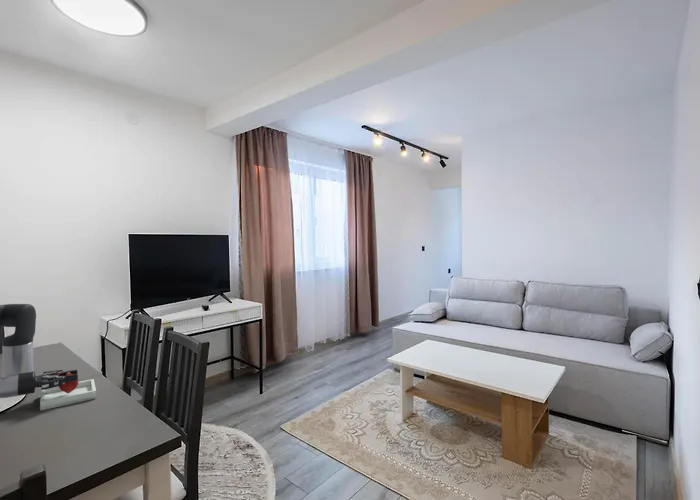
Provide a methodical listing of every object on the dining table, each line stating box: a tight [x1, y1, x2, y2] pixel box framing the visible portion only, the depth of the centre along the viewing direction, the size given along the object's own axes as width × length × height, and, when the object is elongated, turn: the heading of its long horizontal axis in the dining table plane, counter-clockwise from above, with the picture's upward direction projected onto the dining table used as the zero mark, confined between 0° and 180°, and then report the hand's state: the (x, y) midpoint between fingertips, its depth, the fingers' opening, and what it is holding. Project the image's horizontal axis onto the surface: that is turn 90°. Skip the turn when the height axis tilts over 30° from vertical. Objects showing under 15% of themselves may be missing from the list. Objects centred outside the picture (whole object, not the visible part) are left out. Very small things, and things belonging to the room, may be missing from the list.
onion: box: [59, 372, 79, 393], centre depth 136 cm, size 6×6×8 cm
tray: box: [39, 378, 97, 411], centre depth 136 cm, size 14×16×3 cm
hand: (77, 374), depth 137 cm, fingers closed on onion, 5 cm apart
